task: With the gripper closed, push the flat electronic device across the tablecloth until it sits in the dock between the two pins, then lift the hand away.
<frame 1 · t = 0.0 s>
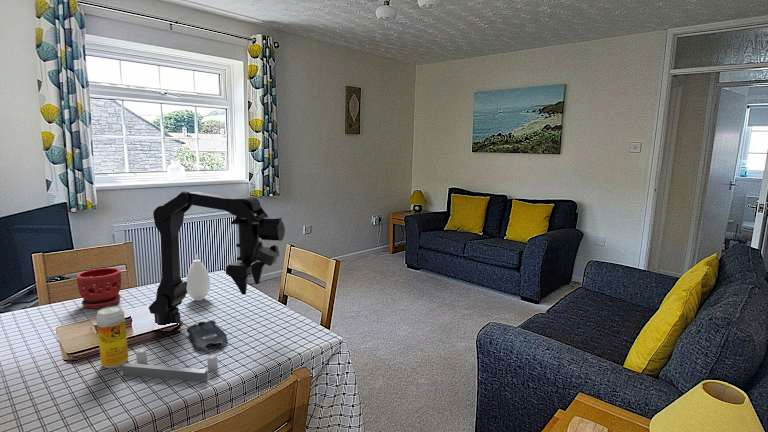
hand: (250, 288, 125), 15 cm above the table, tool pointing down, fingers open, 9 cm apart
yellow pill bottle: (115, 363, 109), on the table
dock: (165, 376, 104), on the table
sauce bottle: (199, 300, 154), on the table
electronic device: (207, 341, 123), on the table
plant pot: (102, 304, 149), on the table
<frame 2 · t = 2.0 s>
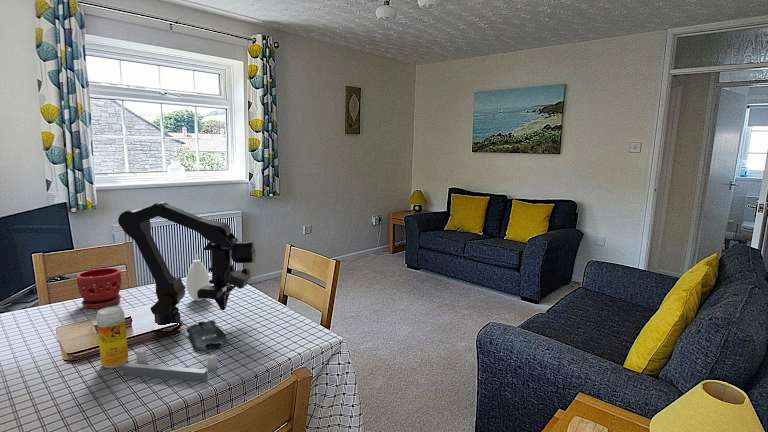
hand: (223, 309, 132), 5 cm above the table, tool pointing down, fingers closed
nothing on the table moved.
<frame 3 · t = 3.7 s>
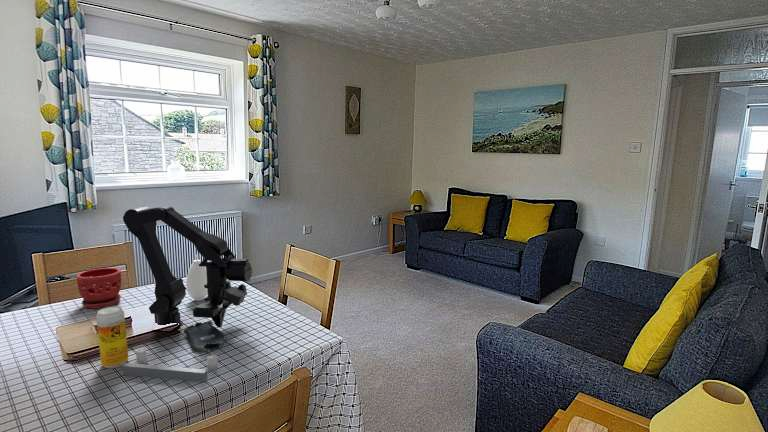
hand: (219, 326, 130), 1 cm above the table, tool pointing down, fingers closed
nothing on the table moved.
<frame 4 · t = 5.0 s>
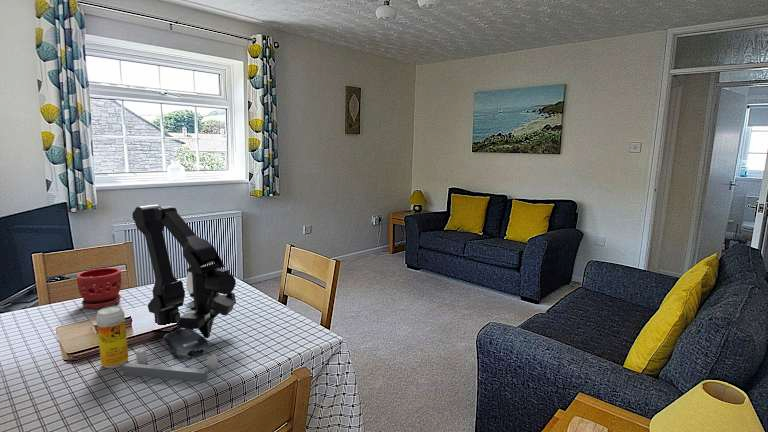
hand: (207, 337, 122), 1 cm above the table, tool pointing down, fingers closed
electronic device: (187, 349, 118), on the table, touching gripper
everything else where it was.
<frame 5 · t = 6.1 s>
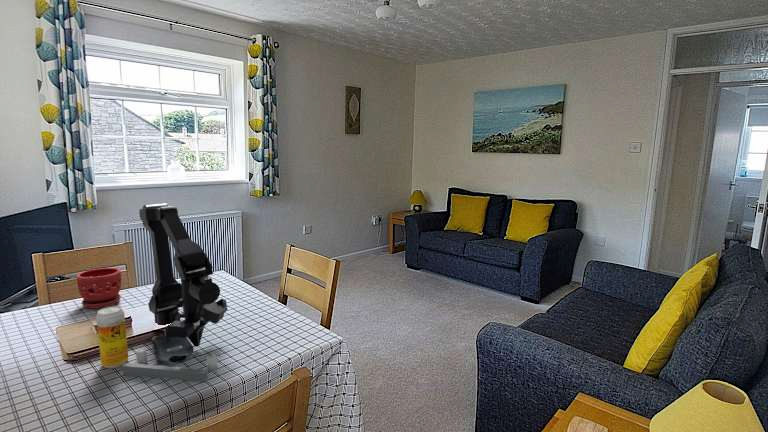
hand: (196, 346, 117), 1 cm above the table, tool pointing down, fingers closed
electronic device: (173, 353, 116), on the table
everything else where it was.
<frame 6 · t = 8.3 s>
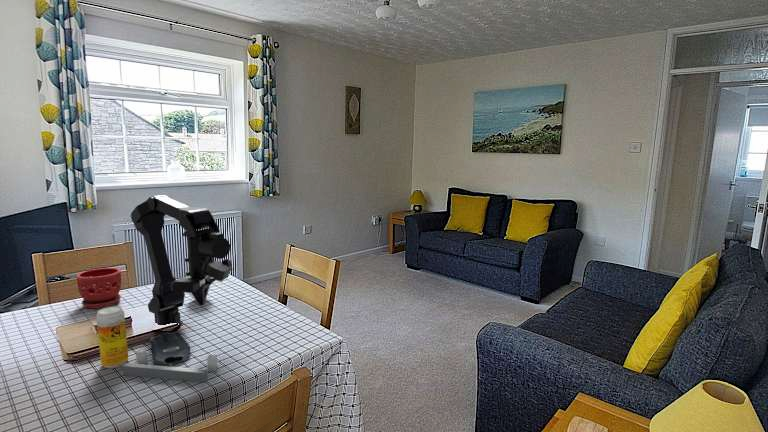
hand: (202, 305, 119), 12 cm above the table, tool pointing down, fingers closed
nothing on the table moved.
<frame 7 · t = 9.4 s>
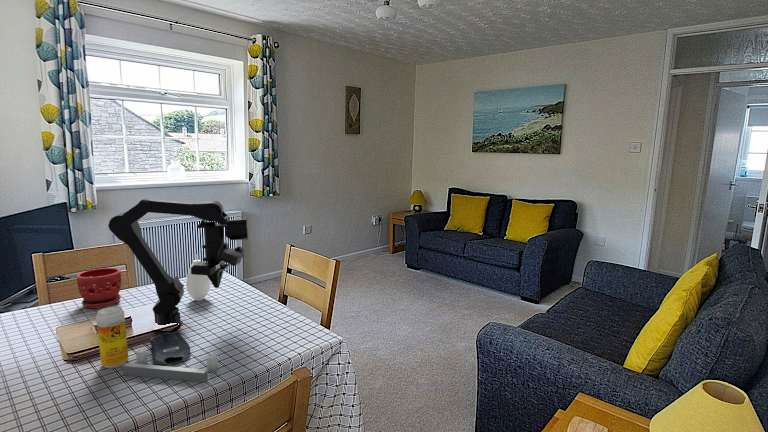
hand: (216, 287, 133), 12 cm above the table, tool pointing down, fingers closed
nothing on the table moved.
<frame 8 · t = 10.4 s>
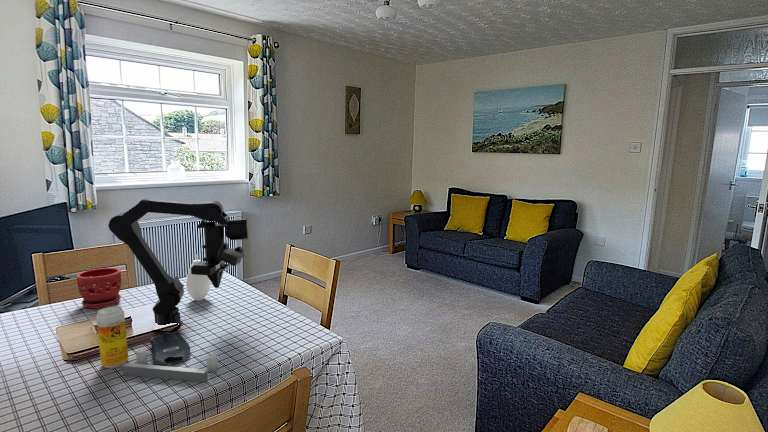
hand: (216, 287, 133), 12 cm above the table, tool pointing down, fingers closed
nothing on the table moved.
at the end: electronic device inside the target area (7.9 cm from its centre), on the table; electronic device moved 10.6 cm from its start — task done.
